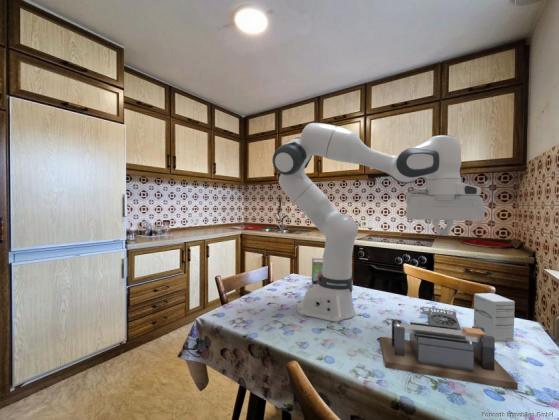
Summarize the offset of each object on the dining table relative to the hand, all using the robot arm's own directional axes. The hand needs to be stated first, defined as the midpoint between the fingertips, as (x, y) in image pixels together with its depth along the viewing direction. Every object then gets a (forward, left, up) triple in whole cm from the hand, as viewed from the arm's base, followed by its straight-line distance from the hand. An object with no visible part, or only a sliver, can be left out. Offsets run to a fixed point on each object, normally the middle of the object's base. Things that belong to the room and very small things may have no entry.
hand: (442, 235), depth 76 cm
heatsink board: (-4, -11, -33) cm, 35 cm away
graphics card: (+4, +13, -34) cm, 37 cm away
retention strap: (-4, -11, -26) cm, 29 cm away
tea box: (-38, +41, -33) cm, 65 cm away
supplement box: (+18, +10, -33) cm, 39 cm away
